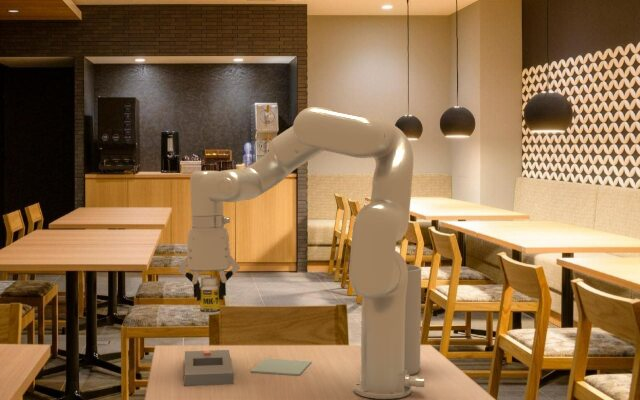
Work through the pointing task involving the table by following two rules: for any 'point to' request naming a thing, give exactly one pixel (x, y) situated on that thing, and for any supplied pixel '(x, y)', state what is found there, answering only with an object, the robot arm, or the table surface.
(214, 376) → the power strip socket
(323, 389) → the table surface
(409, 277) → the cylinder vase
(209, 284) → the supplement bottle
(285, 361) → the rubber mat
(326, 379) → the table surface
